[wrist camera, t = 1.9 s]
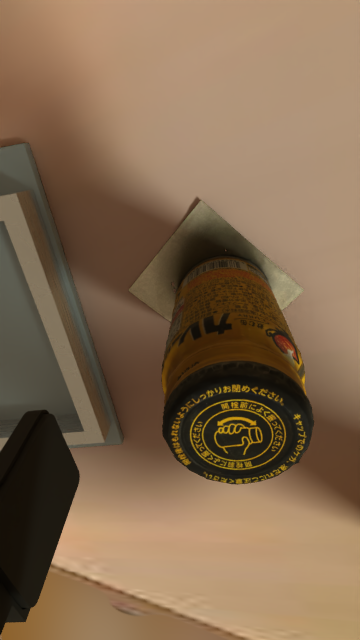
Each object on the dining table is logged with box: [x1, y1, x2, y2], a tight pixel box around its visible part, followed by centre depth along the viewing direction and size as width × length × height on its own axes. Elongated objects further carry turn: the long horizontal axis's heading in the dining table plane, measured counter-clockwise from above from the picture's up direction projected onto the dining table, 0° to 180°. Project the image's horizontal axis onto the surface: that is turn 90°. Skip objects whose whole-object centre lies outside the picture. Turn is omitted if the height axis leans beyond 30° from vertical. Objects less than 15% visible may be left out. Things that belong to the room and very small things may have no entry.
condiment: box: [128, 200, 314, 484], centre depth 17 cm, size 7×8×12 cm
